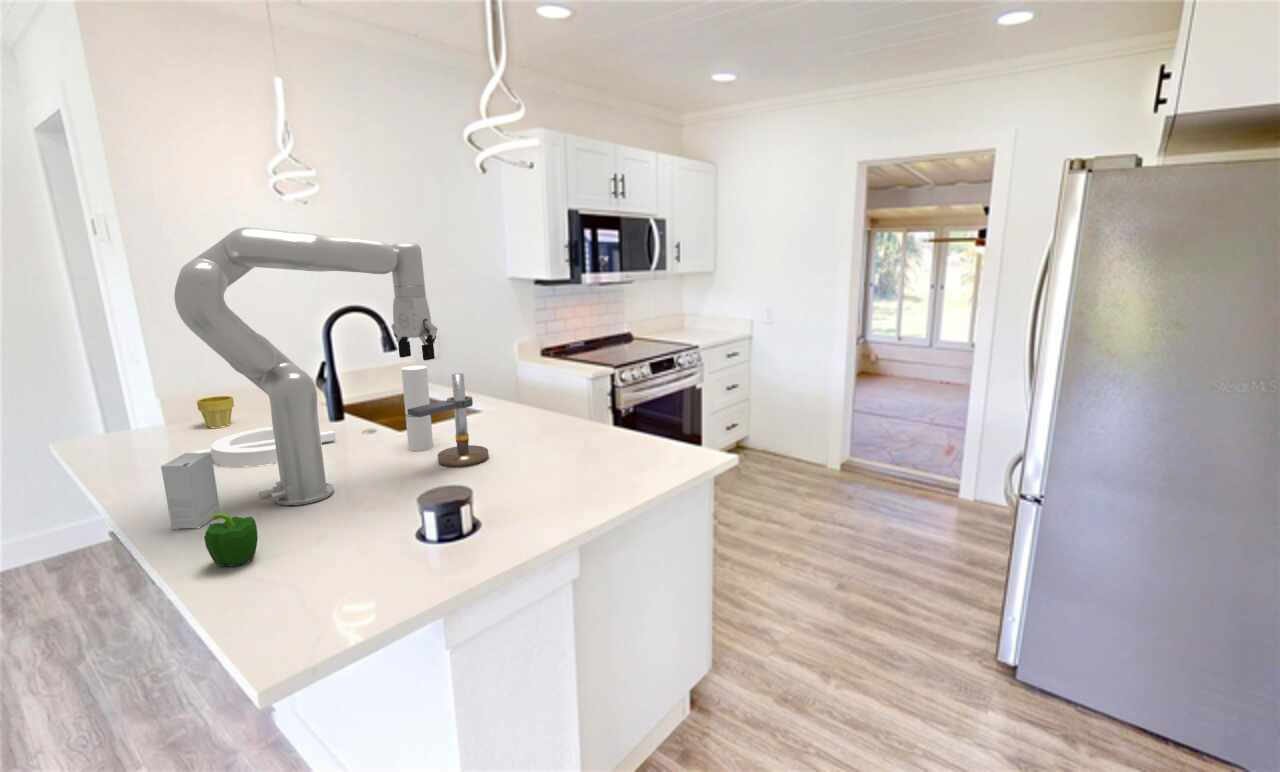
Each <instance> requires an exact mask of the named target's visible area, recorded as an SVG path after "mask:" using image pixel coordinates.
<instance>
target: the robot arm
mask: <svg viewBox="0 0 1280 772" xmlns="http://www.w3.org/2000/svg"><path fill="white" fill-rule="evenodd" d="M421 248H422V247H421V246H420V245H419V244H417V243H412V242H411V243H409V242H408V243H407V242H406V243H402V242H401V243H393V244H388V243H385V242H382V241H381V242H380V241H375V240H374V241H371V240H364V239H363V240H362V239H353V238H345V237H344V238H343V237H335V236H334V237H333V236H327V235H322V234H314V233H305V232H296V231H284V230H276V229H275V230H274V229H268V228H267V229H266V228H258V227H239V228H236V229H234V230H232V231H231V232H230V233H228V234H227V235H226V236H225V237H223V238H222V239H221V240H219V241H218V242H216V243H215V244H214V245H212V246H211V247H209V248H208V249H206V250H205V251H204V252H202V253H200V254H199V255H197V256H196V257H195V258H193V259H191V260H190V261H189V262H187V263H186V264H184V266H183V267H181V268H180V271H179V274H178V276H177V281H176V284H175V287H174V294H173V295H174V296H173V297H174V304H175V308H176V310H177V313H178V315H179V317H180V319H181V321H182V322H183V323H184V325H186V327H188V329H189V330H190V331H192V333H194V335H196V337H198V338H199V339H200V340H201V341H203V342H204V343H205V344H206V345H207V346H208V347H209V348H211V350H212V351H214V352H215V353H216V354H218V355H219V356H220V357H221V358H222V359H224V360H225V361H226V362H227V363H228V365H230V367H231V368H232V369H233V370H235V372H237V373H239V374H241V375H243V376H244V377H245V378H246V379H248V380H249V381H250V382H251V383H252V384H254V385H255V386H257V387H258V388H259V389H260V390H261V391H263V393H265V394H266V395H267V396H268V398H269V404H270V412H271V413H270V414H271V415H270V416H271V421H272V424H271V425H272V427H273V432H274V438H275V446H276V453H277V460H278V464H277V467H278V472H279V473H278V474H279V480H280V481H275V485H274V486H273V487H272V488H271V489H266V490H262V491H259V492H258V498H259V499H260V501H262V500H267V499H269V498H270V499H271V500H274V501H275V503H276V504H279V505H280V504H281V506H287V505H295V506H302V504H304V505H309V504H313V503H317V502H319V501H323V500H325V499H327V498H329V497H330V496H332V495H333V493H334V492H335V488H334V485H333V484H331V483H327V481H326V480H327V479H326V473H325V464H324V456H323V447H322V446H323V445H322V446H321V437H320V432H321V429H320V424H319V413H318V412H319V411H318V409H319V408H318V393H317V391H318V390H317V387H316V384H315V382H314V380H313V378H312V377H311V376H310V375H309V374H308V373H307V372H305V370H303V369H301V368H300V367H299V366H298V365H297V364H295V362H293V361H292V360H291V359H289V357H287V356H286V355H285V354H284V353H283V352H282V351H281V350H279V349H278V348H277V347H276V346H275V345H274V344H272V343H271V342H270V340H269V339H267V338H266V337H264V335H262V334H260V333H257V332H256V331H255V330H254V329H253V328H251V326H249V325H248V324H247V323H245V322H244V321H243V319H241V317H239V315H237V314H236V313H235V312H234V311H233V310H231V308H229V306H228V304H227V303H226V301H225V296H224V294H225V292H226V290H227V289H228V287H230V286H231V285H233V284H234V283H235V282H237V281H238V280H240V279H241V278H242V277H244V276H245V275H246V274H248V273H249V272H251V271H252V270H253V269H254V268H264V269H277V270H279V269H281V270H289V271H290V270H291V271H292V270H293V271H294V270H295V271H304V272H319V273H320V272H345V273H346V272H349V273H364V274H371V275H388V274H389V273H391V275H392V284H393V291H394V298H393V306H392V316H393V318H392V319H393V320H392V321H393V323H392V324H391V329H392V331H393V336H394V337H395V338H396V339H395V341H396V342H397V347H398V355H399V358H406V357H411V355H412V352H411V351H412V350H411V341H410V340H409V338H413V339H415V338H419V339H420V340H421V343H422V345H421V352H422V353H421V354H422V359H423V361H431V360H435V359H436V358H435V357H436V356H435V349H434V348H435V346H434V345H435V342H436V339H437V334H438V328H437V326H435V325H434V324H433V323H432V319H431V313H430V308H429V304H428V299H427V294H426V284H425V275H424V274H425V273H424V265H423V255H422V249H421ZM331 494H332V495H331ZM328 496H329V497H328ZM322 499H323V500H322ZM308 503H309V504H308Z"/></svg>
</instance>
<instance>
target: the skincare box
mask: <svg viewBox="0 0 1280 772" xmlns="http://www.w3.org/2000/svg"><path fill="white" fill-rule="evenodd" d="M160 468H161V473H162V481H163V485H164V491H165V497H166V503H167V511H168V516H169V521H170V527H171V529H172V530H179V529H178V528H198V527H201V526H202V525H203V526H205V525H206V524H208V523H209V522H210V521H211V520H213V519H212V516H213V515H215V514H221V508H220V501H219V495H218V488H217V483H216V476H215V469H214V461H213V460H212V455H211V453H195V452H192V453H191V452H185V453H182V454H181V455H179V456H177V457H176V458H174V459H172V460H171V461H168V462H167V463H164V464H162V465H161V466H160ZM209 520H210V521H209ZM208 521H209V522H208ZM205 523H206V524H205ZM204 524H205V525H204ZM203 526H202V527H203ZM202 527H201V528H202Z"/></svg>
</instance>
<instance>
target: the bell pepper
mask: <svg viewBox="0 0 1280 772" xmlns="http://www.w3.org/2000/svg"><path fill="white" fill-rule="evenodd" d="M212 518H213V519H212V520H214V521H217V520H218V519H222V520H224V522H215V523H210V524H209V526H208V528H207V529H206V532H205V534H204V538H203V539H204V543H205V547H206V550H207V552H208V554H209V556H210V558H211V560H212V561H213V562H214V564H215V565H216V566H218V567H226V566H229V567H238V566H242V565H244V564H247V563H249V562H250V561H251V560H253V558H254V557H255V555H256V551H257V547H258V546H257V545H258V528H257V527H258V526H257V524H256V523H257V522H256V520H255V518H253V516H247V517H238V516H235V515H234V516H230V515H229V514H225V513H219V514H215V515H213V516H212ZM248 561H249V562H248Z"/></svg>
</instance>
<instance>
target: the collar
mask: <svg viewBox="0 0 1280 772" xmlns="http://www.w3.org/2000/svg"><path fill="white" fill-rule="evenodd" d="M473 405H474V402H473V397H472V396H469V395H465V400H459V401H454V398H453V396H451V397H448V398H447V399H446V400H442V401H441V400H440V401H437V402H434V403H433V402H432V403H430V404H428V405H424V406H419V407H415V408H411V409H408V415H412V416H416V417H423V416H427V415H435V414H439V413H443V412H446V411H451V410H454V409H458V408H466V409H467V408H470V407H471V408H472V406H473Z"/></svg>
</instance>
